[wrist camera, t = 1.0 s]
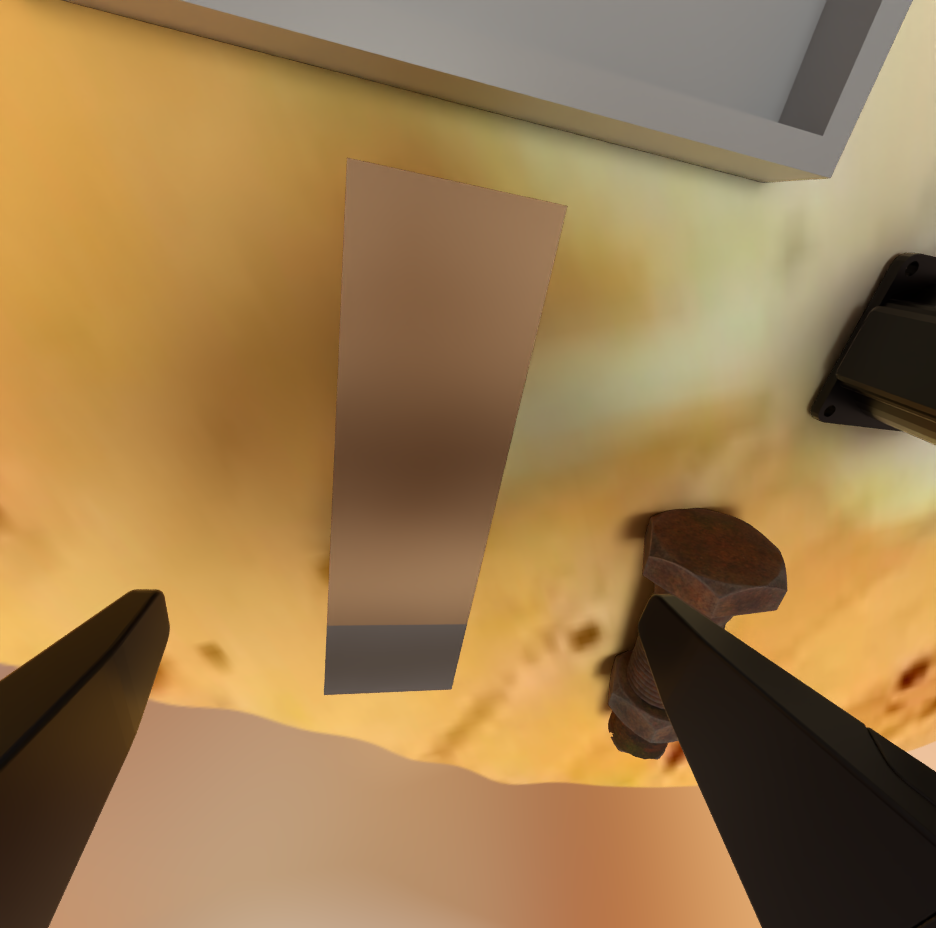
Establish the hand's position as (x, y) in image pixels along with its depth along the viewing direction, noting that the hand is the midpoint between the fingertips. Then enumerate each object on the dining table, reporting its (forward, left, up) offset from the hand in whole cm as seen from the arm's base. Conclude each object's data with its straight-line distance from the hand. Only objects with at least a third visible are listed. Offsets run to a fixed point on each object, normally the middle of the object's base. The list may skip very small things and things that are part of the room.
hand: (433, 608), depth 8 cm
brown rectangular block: (0, 0, -9) cm, 9 cm away
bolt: (-14, +11, -10) cm, 20 cm away
